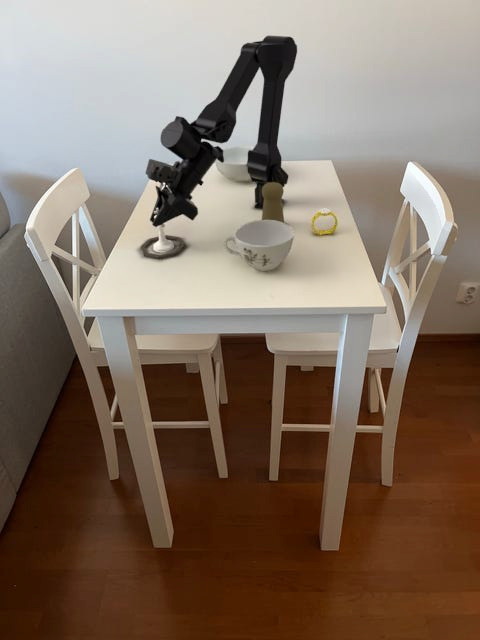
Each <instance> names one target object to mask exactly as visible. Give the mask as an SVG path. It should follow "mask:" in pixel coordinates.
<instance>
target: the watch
mask: <svg viewBox="0 0 480 640" xmlns="http://www.w3.org/2000/svg"><path fill="white" fill-rule="evenodd" d="M320 216H321V217H327V216H332V218H334V224H333V226H332V227H331V228H330V229H327V230H321V231H320V230H317V229H316V228H315V221H316V220H317V218H319V217H320ZM338 225H339V224H338V218H337V216H336V214H335V213H334V212H333V211H331V209H330V208H326V207H324V208H320V209H319V210H318V212H317V213H315V214H314V215H313V217H312V219H311V229H312V230H313V232H314V233H315V234H316V235H318V236H322V235H329V234H330V235H331V234H333V233H334V232H335V231H336V229H337V227H338Z"/></svg>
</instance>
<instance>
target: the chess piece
mask: <svg viewBox="0 0 480 640" xmlns="http://www.w3.org/2000/svg"><path fill="white" fill-rule="evenodd" d="M158 212H159V209H158V208H156V211H154V214H156V213H157V214H158ZM156 216H157V215H155V216H154V218H155V217H156ZM165 227H166V224H165V223H163V224H161V225H159V226H158V227H155V228H156V229H158V237H159V241H155V242H154V243H153V247H152V249H153V251H154V252H156V253H169V252H170V251H172V250H173V249H174V248H175V245H174V242H173V240H168V239H166V238H165V236H166V234H165V232H164V228H165Z"/></svg>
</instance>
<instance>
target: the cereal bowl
mask: <svg viewBox="0 0 480 640" xmlns="http://www.w3.org/2000/svg"><path fill="white" fill-rule="evenodd" d="M254 147H255V146H252V145H238V146H229V147H226V148H222V150H223V157H224V162H223V163H221V162H220V161H219V160H217V159H216V161H215V162H214V164H215V167H216V169H217V171H218V172H219V173H220V174H221V175H222V176H224V177H226V178H228V179H231V180H232V181H235V182H239V183H240V182H250V181H251V178H250V175H249V173H248V171H247V166H246V164H247V160H248V151H249V150H253V149H254Z"/></svg>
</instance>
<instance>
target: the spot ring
mask: <svg viewBox="0 0 480 640" xmlns="http://www.w3.org/2000/svg"><path fill="white" fill-rule="evenodd" d="M165 238H166V239H167V240H170V241H174V242H177V243H178V245H179V246H178V247H177V248H176V249H175V250H174V251H171V252H165V253H163V254H157V253H152V252H148V250H147V247H148V246H150V245H151V244H152V243H156V242H158V241H159V236H155V237H151V238H148V239H147V240H146V241H145V242H143V243H142V244H141V245H140V247H139V248H140V251H141V253H142V255H143V256H144V257H145V258H150V259H155V260H164V259H169V258H172V257H175V256H177V255H179V254H180V253H181V252H183V250H184V249H185V248H186V244H185V242H184V241H183V239H182V237H180V236H174V235H166V234H165Z"/></svg>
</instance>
